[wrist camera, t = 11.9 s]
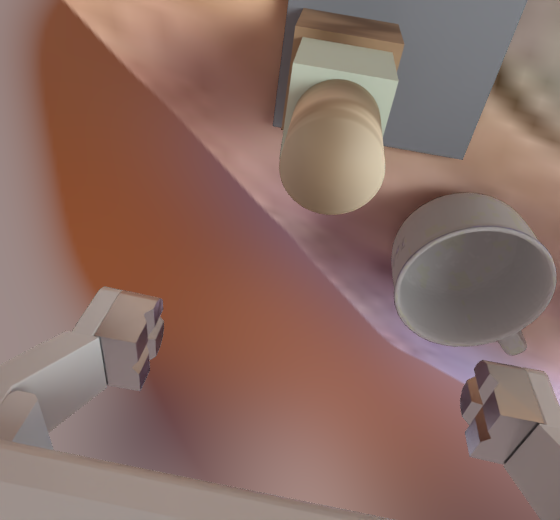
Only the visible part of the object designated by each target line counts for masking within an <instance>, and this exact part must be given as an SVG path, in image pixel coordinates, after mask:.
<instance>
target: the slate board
mask: <svg viewBox="0 0 560 520" xmlns="http://www.w3.org/2000/svg"><path fill="white" fill-rule="evenodd" d="M526 3H527V0H289V1H288V9H287V17H286V25H285V33H284V41H283V49H282V57H281V65H280V73H279V81H278V89H277V97H276V105H275V113H274V121H273V126H275V127H280V128H281V127H282V120H283V112H284V105H285V98H286V90H287V83H288V76H289V69H290V61H291V54H292V47H293V39H294V32H295V25H296V23H297V21H298V19H299V17H300V15H301V12H302V10H303V8H307V9H313V10H319V11H325V12H331V13H336V14H342V15H348V16H354V17H360V18H366V19H371V20H377V21H383V22H389V23H395V24H398V25H399V28H400V31H401V35H402V38H403V41H404V44H405V45H404V48H403V52H402V55H401V59H400V63H399V66H398V70H397V76H398V80H399V82H398V85H397V89H396V92H395V96H394V100H393V103H392V107H391V110H390V114H389V117H388V121H387V124H386V128H385V132H384V135H383V146H387V147H393V148H399V149H404V150H410V151H416V152H421V153H427V154H432V155H438V156H444V157H449V158H455V159H461V160H463V157H464V155H465V153H466V150H467V148H468V145H469V143H470V140H471V138H472V135H473V133H474V130H475V128H476V125H477V123H478V121H479V118H480V116H481V113H482V111H483V108H484V106H485V103H486V101H487V98H488V96H489V94H490V91H491V89H492V86H493V84H494V81H495V79H496V76H497V74H498V71H499V69H500V67H501V64H502V62H503V59H504V57H505V54H506V52H507V49H508V47H509V44H510V42H511V40H512V37H513V35H514V32H515V30H516V27H517V25H518V22H519V20H520V17H521V15H522V13H523V10H524V8H525V5H526Z"/></svg>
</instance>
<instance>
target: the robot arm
mask: <svg viewBox="0 0 560 520" xmlns="http://www.w3.org/2000/svg"><path fill="white" fill-rule="evenodd" d="M162 310H163V300H162V299H161V298H157V297H153V296H148V295H143V294H139V293H134V292H130V291H125V290H119V289H114V288H110V287H103V288H101V289H100V290H99V291H98V293H97V294H96V295H95V297H94V298H93V300H92V301H91V303H90V304H89V306H88V307H87V309H86V311H85V312H84V313H83V315H82V316H81V318H80V320H79V321H78V322H77V324H76V325H75V327H74V328H73V330H72V331H71V332H70V331H64V332H62V333H61V334H58V335H56V336H55V337H53V338H51V339H49V340H47V341H45V342H43V343H41V344H39V345H37V346H36V347H33V348H32V349H30V350H28V351H26V352H24V353H22V354H20V355H18V356H16V357H14V358H13V359H11V360H9V361H7V362H5V363H3V364H1V365H0V520H394V519H389V518H384V517H378V516H374V515H369V514H364V513H359V512H355V511H350V510H345V509H340V508H335V507H330V506H325V505H320V504H315V503H310V502H305V501H300V500H295V499H291V498H285V497H281V496H276V495H271V494H266V493H261V492H256V491H251V490H246V489H241V488H236V487H231V486H227V485H221V484H217V483H212V482H207V481H202V480H197V479H192V478H187V477H183V476H178V475H173V474H167V473H163V472H158V471H153V470H148V469H143V468H139V467H133V466H129V465H124V464H119V463H114V462H109V461H104V460H99V459H94V458H90V457H85V456H80V455H75V454H70V453H65V452H60V451H55V450H54V449H53V446H52V443H51V440H50V437H49V432H50V431H52V430H53V429H54V428H56V427H57V426H58V425H59V424H61V423H62V422H63V421H65V420H66V419H67V418H68V417H70V416H71V415H72V414H74V413H75V412H76V411H77V410H79V409H80V408H81V407H83V406H84V405H85V404H86V403H88V402H89V401H90V400H92V399H93V398H94V397H96V396H97V395H98V394H99V393H101V392H102V391H103V390H104V389H106V388H107V385H108V386H114V387H119V388H125V389H131V390H137V391H141V389H142V386H143V384H144V382H145V380H146V378H147V375H148V373H149V371H150V362H149V360H150V359H152V358H154V357H156V355H157V353H158V351H159V348H160V345H161V341H162V337H163V331H164V321H163V320H162V319H161V317H160V315H161V313H162ZM474 372H475V377H473V378H471V379H469V380H467V381H466V383H465V385H464V387H463V389H462V394H461V398H460V404H461V405H460V408H461V413H462V417H463V418H464V419H465V421H466V422H467V423H468V424H469V427H468V428H467V430H466V431H465V435H466V441H467V445H468V451H469V456H470V457H473V458H477V459H481V460H486V461H490V462H495V463H499V464H504V468H505V469H506V470H507V472H508V473H509V475H510V476H511V478H512V479H513V481H514V482H515V484H516V485H517V486H518V488H519V489H520V491H521V492H522V494H523V495H524V496H525V498H526V499H527V501H528V502H529V504H530V505H531V506H532V508H533V509H534V511H535V512H536V514H537V515H538V517H539V518H540V519H541V520H560V406H559V404H558V401H557V399H556V396H555V393H554V391H553V388H552V386H551V383H550V381H549V378H548V376H547V374H546V373H545V372H544V371H539V370H534V369H528V368H521V367H518V366H512V365H507V364H501V363H496V362H490V361H485V360H482V361H480V362H479V363H478V364H477V365H476V367H475V368H474Z"/></svg>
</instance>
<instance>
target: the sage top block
mask: <svg viewBox="0 0 560 520" xmlns="http://www.w3.org/2000/svg"><path fill="white" fill-rule="evenodd" d="M331 79H344V80H349V81H352V82H355V83H357V84H359V85H361V86H362V87H364V88H365V89H366V90H367V91H368V92H369V93H370V94H371V95H372V96H373V98H374V99H375V101H376V103H377V105H378V108H379V111H380V117H381V127H382V136H383V135H384V132H385V128H386V124H387V121H388V117H389V114H390V110H391V107H392V103H393V100H394V96H395V92H396V89H397V85H398V82H399V80H398V76H397V71H396V66H395V62H394V57H393V52H387V51H381V50H375V49H370V48H364V47H358V46H352V45H346V44H341V43H335V42H329V41H323V40H317V39H312V38H306V37H302V40H301V43H300V45H299V48H298V51H297V53H296V56H295V59H294V61H293V66H292V73H291V80H290V87H289V95H288V102H287V109H286V116H285V123H284V130H283V137H282V144H281V152H280V157H281V153H282V149H283V146H284V143H285V139H286V136H287V132H288V129H289V125H290V122H291V118H292V115H293V112H294V109H295V106H296V104H297V102H298V100H299V99H300V97H301V96H302V95H303V94H304V93H305V92H306V91H307V90H308V89H309V88H311V87H312V86H314V85H315V84H318V83H320V82H322V81H326V80H331Z"/></svg>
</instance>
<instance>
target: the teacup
mask: <svg viewBox="0 0 560 520" xmlns="http://www.w3.org/2000/svg"><path fill="white" fill-rule="evenodd" d="M391 262H392V276H393V284H394V303H395V306H396V310H397V313H398V315H399V316H400V318H401V320H402V321H403V323H404V324H405V325H406V326H407V327H408V328H409V329H410V330H412V331H413V332H414V333H416V334H417V335H418V336H420V337H422V338H424V339H426V340H428V341H430V342H434V343H437V344H441V345H446V346H454V347H458V346H459V347H468V346H478V345H483V344H487V343H491V342H496V341H498V342H499V344H500V345H501V347H502V348H503V350H504V351H505V352H506V353H507V354H508V355H517V354H519V353H521V352H523V351H525V350H526V348H527V344H526V341H525V338H524V336H523V334H522V332H521V330H522V329H523V328H525V327H526V326H527V325H529V324H530V323H532V322H533V321H534V320H535V319H536V318H538V317H539V316H540V315H541V313H542V312H543V311H544V310H545V308H546V307H547V305H548V304H549V302H550V301H551V299H552V296H553V294H554V291H555V288H556V267H555V264H554V261H553V259H552V257H551V255H550V253H549V252H548V250H547V249H546V248H545V246H544V245H542V244H541V243H540V242H539V241H538V239H537V238H536V236H535V235H534V233H533V232H532V230H531V229H530V228H529V226H528V225H527V224H526V222H525V221H524V220H523V219H522V218H521V216H520V215H519V214H518V213H517V212H516V211H515V210H513V209H512V208H511V207H510V206H508V205H507V204H505V203H504V202H502V201H500V200H498V199H496V198H493V197H491V196H487V195H483V194H477V193H455V194H450V195H445V196H442V197H439V198H436V199H434V200H431V201H430V202H428V203H426V204H424V205H422V206H421V207H419V208H418V209H417V210H416V211H414V212H413V213H412V214H411V215H410V216H409V217H408V218H407V219H406V220H405V221H404V223H403V224H402V226H401V227H400V229H399V231H398V233H397V235H396V237H395V240H394V243H393V248H392V257H391Z"/></svg>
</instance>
